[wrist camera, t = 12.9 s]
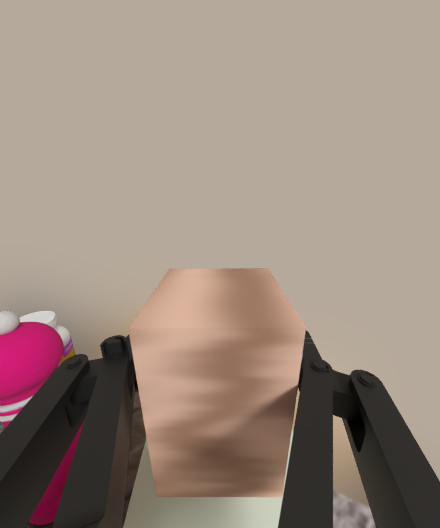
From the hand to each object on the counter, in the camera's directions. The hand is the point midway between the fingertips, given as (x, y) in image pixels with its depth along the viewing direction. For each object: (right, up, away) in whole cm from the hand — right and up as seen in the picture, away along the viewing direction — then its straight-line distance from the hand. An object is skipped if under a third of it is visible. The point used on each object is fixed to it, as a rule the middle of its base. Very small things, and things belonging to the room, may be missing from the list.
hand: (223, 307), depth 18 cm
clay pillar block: (0, -8, -2) cm, 9 cm away
